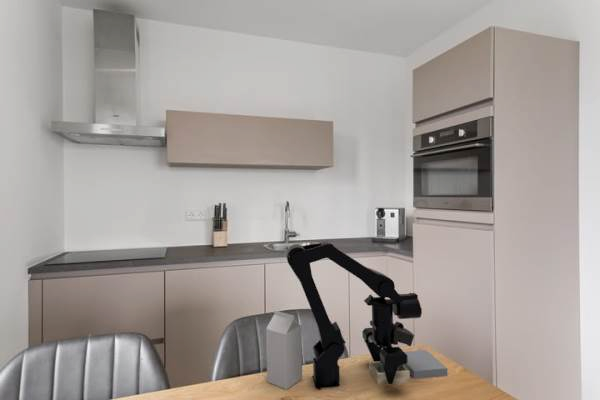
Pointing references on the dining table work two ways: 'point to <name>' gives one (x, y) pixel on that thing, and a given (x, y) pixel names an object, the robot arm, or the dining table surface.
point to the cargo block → (382, 368)
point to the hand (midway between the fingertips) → (383, 374)
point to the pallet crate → (380, 378)
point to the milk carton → (284, 350)
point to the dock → (424, 365)
